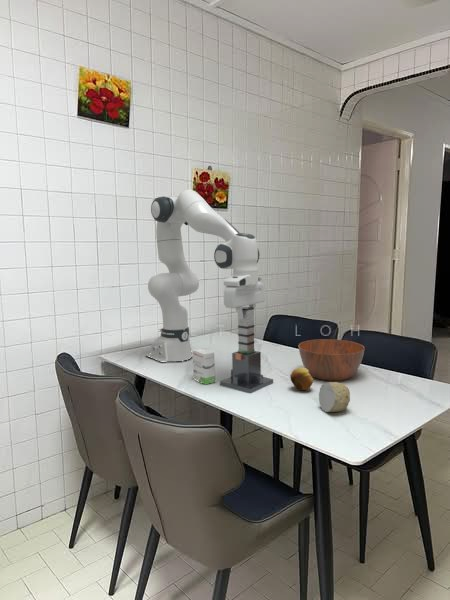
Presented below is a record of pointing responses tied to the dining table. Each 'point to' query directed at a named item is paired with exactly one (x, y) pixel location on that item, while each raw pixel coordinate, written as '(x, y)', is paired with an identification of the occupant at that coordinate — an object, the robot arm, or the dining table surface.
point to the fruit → (301, 378)
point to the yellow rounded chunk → (334, 397)
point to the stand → (246, 373)
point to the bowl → (331, 358)
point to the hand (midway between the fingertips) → (245, 317)
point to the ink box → (203, 366)
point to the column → (246, 331)
